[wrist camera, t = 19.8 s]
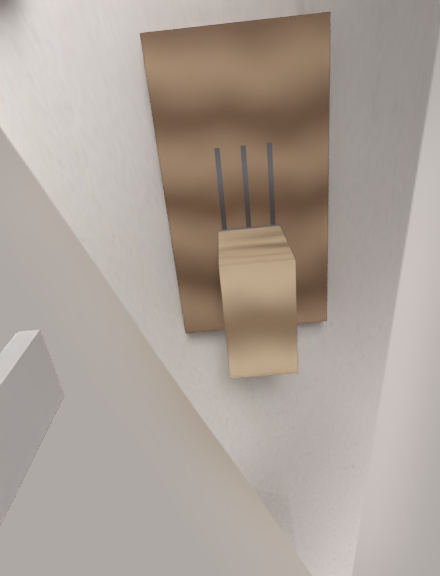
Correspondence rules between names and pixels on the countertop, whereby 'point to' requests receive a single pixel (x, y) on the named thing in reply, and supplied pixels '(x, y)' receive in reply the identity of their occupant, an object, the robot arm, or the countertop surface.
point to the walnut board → (243, 148)
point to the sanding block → (258, 301)
